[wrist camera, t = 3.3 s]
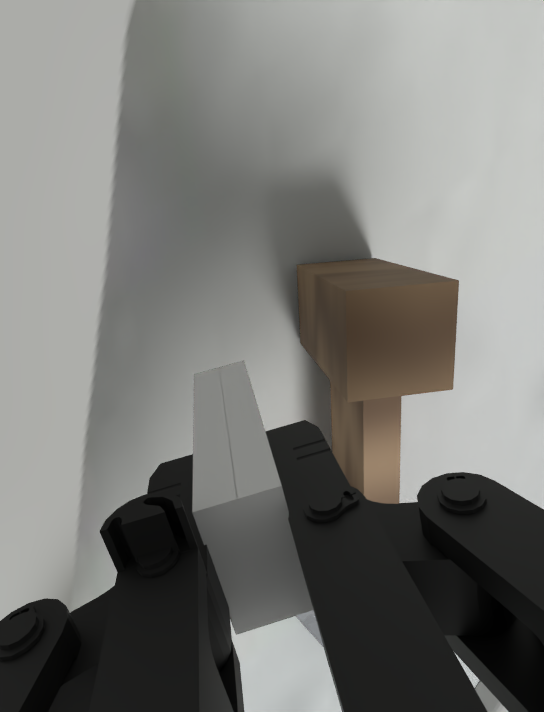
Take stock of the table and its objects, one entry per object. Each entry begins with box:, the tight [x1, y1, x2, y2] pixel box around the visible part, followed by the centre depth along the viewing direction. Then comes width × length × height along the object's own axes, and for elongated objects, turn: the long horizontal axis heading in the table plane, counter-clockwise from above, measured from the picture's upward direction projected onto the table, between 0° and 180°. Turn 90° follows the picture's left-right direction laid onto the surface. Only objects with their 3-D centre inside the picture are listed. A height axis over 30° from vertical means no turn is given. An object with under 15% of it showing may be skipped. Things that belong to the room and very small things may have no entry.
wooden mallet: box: [297, 258, 459, 504], centre depth 23 cm, size 18×4×8 cm, turn 4°
